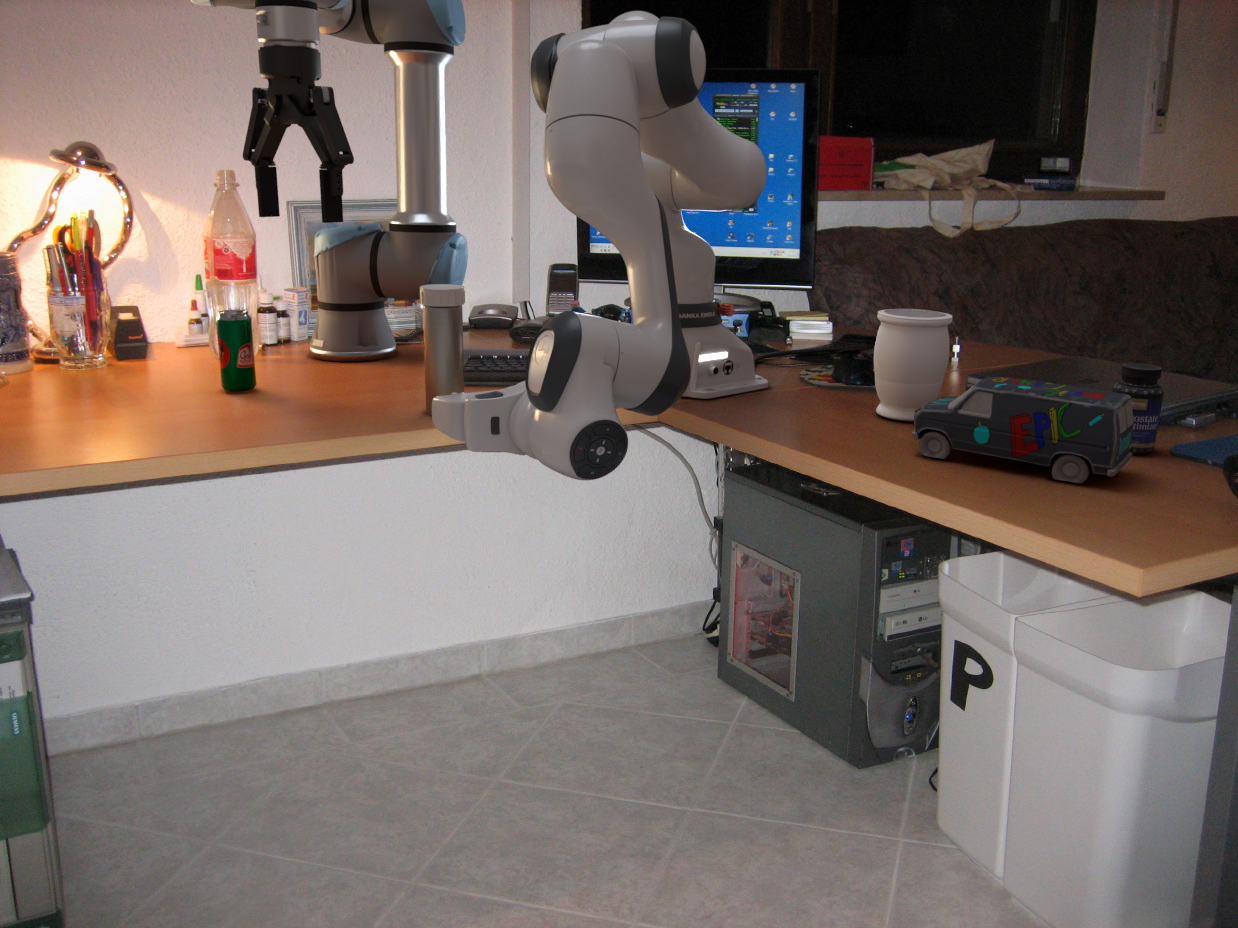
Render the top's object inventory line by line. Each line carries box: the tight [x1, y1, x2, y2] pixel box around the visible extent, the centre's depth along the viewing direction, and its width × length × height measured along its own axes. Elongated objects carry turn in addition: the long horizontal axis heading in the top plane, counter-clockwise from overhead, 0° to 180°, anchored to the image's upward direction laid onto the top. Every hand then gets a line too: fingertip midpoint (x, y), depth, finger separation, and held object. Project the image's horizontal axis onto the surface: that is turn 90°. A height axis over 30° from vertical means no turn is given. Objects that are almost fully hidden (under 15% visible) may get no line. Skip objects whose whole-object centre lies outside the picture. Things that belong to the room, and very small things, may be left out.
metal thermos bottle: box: [422, 305, 465, 416], centre depth 151 cm, size 6×6×18 cm
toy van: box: [911, 376, 1135, 484], centre depth 132 cm, size 11×25×10 cm, turn 54°
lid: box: [419, 284, 466, 307], centre depth 149 cm, size 6×6×2 cm
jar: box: [873, 308, 953, 422], centre depth 154 cm, size 11×10×15 cm
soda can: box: [215, 309, 257, 393], centre depth 163 cm, size 5×5×12 cm
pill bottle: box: [1111, 362, 1165, 455], centre depth 139 cm, size 6×6×11 cm
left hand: (300, 220), depth 140 cm, fingers open, 13 cm apart
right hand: (490, 394), depth 139 cm, fingers open, 8 cm apart
